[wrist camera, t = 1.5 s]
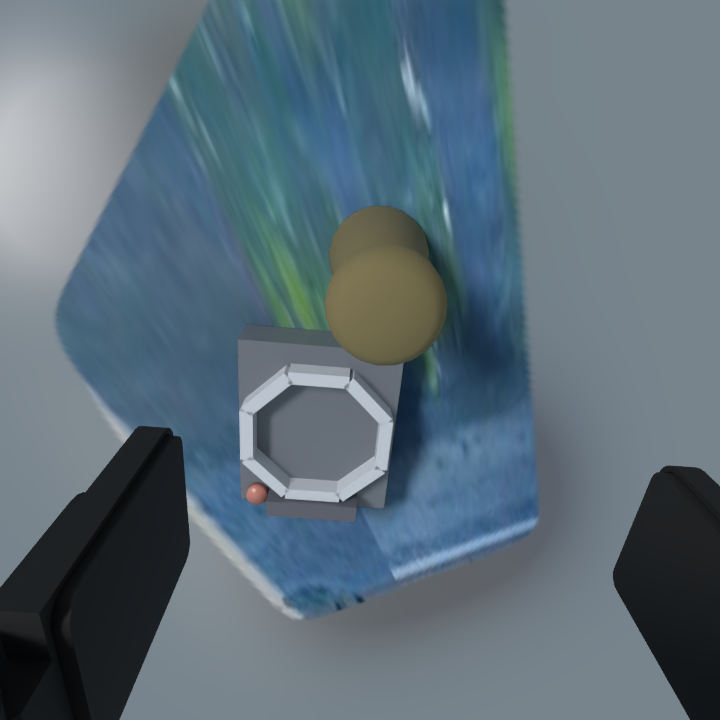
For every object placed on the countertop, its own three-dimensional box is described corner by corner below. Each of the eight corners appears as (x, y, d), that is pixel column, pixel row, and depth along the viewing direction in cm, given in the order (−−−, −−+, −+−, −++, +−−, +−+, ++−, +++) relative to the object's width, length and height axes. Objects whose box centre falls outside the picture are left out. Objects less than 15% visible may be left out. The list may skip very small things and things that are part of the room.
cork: (450, 257, 29) (496, 318, 19) (378, 324, 31) (386, 413, 21) (379, 182, 27) (389, 207, 17) (308, 258, 29) (279, 320, 19)
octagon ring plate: (246, 324, 31) (231, 349, 27) (402, 337, 31) (407, 363, 28) (248, 475, 36) (236, 513, 32) (382, 485, 36) (384, 523, 32)
